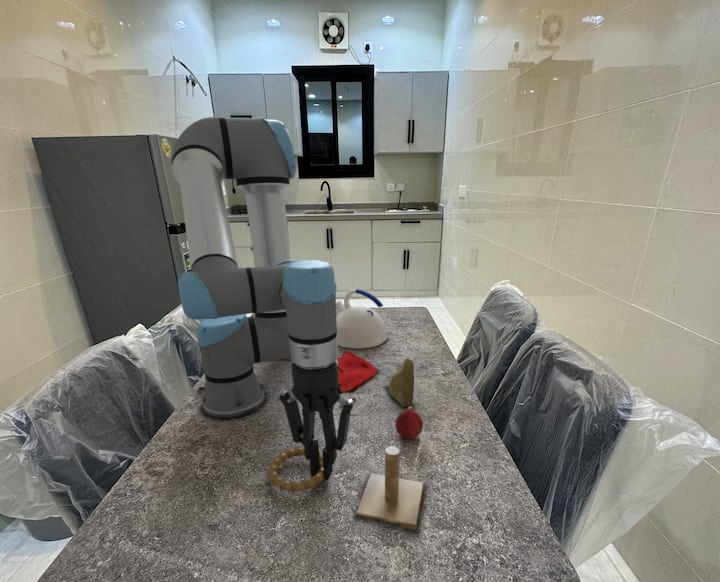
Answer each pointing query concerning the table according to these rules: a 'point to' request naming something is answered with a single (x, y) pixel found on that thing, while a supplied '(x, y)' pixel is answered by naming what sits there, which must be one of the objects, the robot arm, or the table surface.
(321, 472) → the gold beaded ring
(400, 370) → the rock
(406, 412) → the onion
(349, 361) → the cloth
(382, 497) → the stand
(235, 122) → the robot arm
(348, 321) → the kettle
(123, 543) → the table surface
